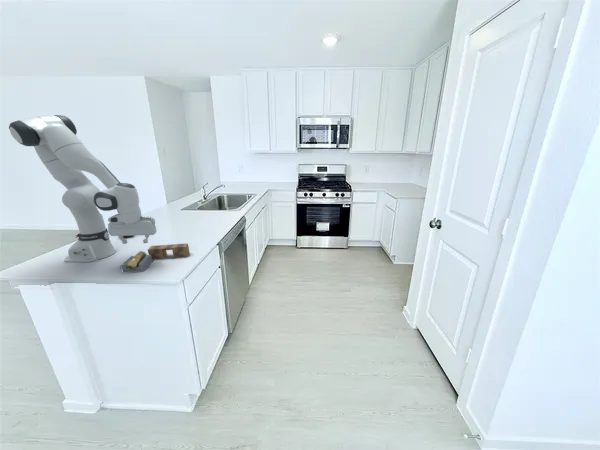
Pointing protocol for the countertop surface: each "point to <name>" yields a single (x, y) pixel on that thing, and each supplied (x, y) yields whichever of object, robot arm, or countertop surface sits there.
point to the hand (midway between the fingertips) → (135, 243)
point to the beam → (177, 249)
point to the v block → (141, 266)
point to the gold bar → (136, 260)
